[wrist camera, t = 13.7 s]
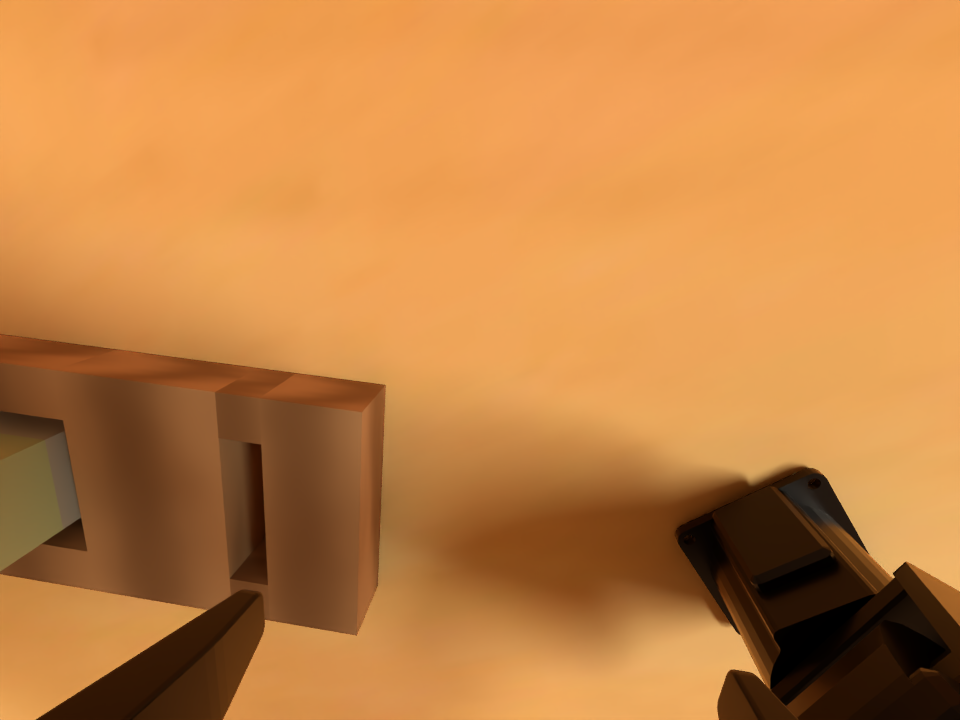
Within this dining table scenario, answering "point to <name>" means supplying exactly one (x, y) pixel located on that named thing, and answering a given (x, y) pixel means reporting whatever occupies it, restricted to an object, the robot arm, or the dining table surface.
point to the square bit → (33, 484)
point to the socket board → (208, 480)
